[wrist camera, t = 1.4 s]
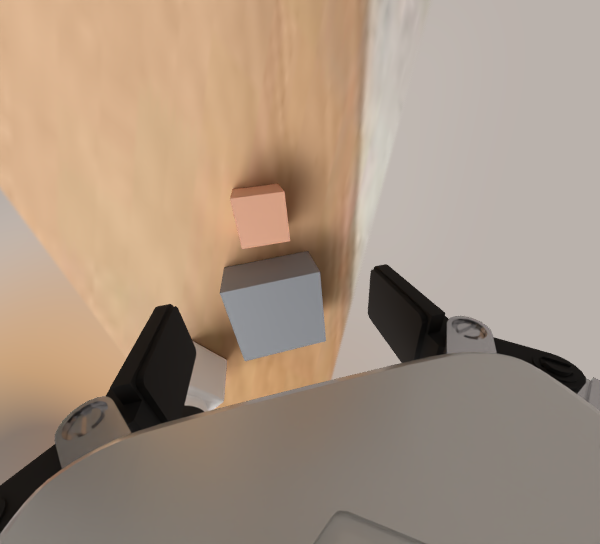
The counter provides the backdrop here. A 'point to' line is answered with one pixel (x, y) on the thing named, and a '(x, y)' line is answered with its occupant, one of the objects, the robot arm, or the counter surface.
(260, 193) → the terracotta cube
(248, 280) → the grey block
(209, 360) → the medicine bottle
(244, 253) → the counter surface
